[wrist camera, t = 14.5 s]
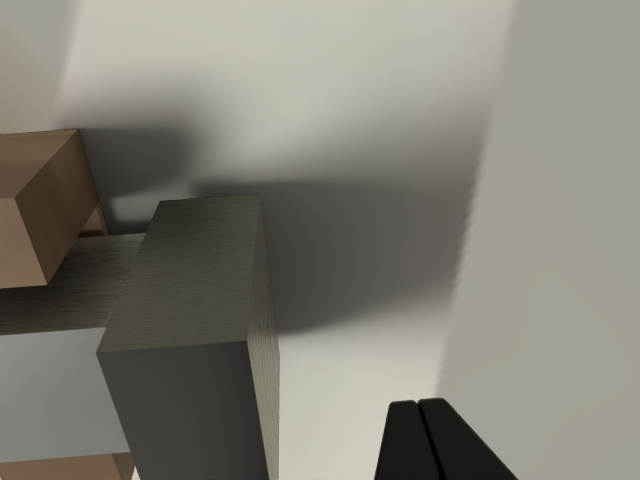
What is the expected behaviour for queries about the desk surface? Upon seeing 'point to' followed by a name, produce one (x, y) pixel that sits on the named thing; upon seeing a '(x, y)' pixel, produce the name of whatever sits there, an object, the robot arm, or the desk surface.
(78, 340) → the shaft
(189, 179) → the desk surface
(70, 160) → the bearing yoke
